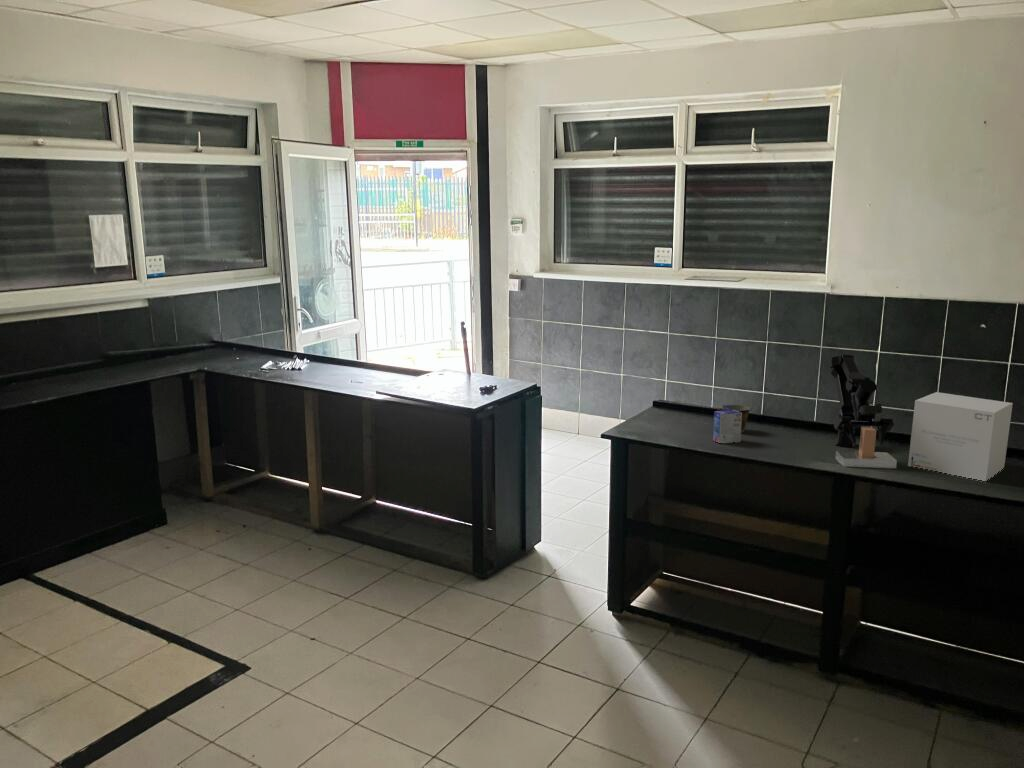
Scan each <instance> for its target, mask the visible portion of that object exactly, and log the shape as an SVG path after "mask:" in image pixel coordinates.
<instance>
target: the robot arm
mask: <svg viewBox="0 0 1024 768" xmlns="http://www.w3.org/2000/svg"><path fill="white" fill-rule="evenodd" d="M854 357H855V356H854V355H852V354H839V355H837V356H832V357H830V358H829V359H828V361H827V368H829V372H830V375H831V376H832V377H833V378H834V379H835V382H836V387H837V394H838V395H837V396H838V398H839V399H838V400H839V407H840V409H839V411H838V414H837V416H836V418H835V420H834V421H833V428H834V429H835V430H836V431H838V433H837V434H838V435H837V440H836V442H835V446H839V447H845V448H846V447H847V448H855V445H856V444H857V441H856V439H857V438H856V435H855V432H861V427H872V428H874V427H875V428H877V430H878V431H877V435H878V440H879V445H880V446H883V444H884V440H885V435H886V434H887V433H888V432H890V431H891V430H892V428H893V426H894V425H895V421H894V419H893V418H892V417H881V418H880V419H879V420H876V421H875V418H876V415H877V416H878V414H882V413H883V407H882V404H881V403H875V404H873V405H871V404H870V400H871V399H872V398H873V396H874V395H875V392H876V391H877V389H878V385H877V384H876V383H875V382H874V381H873V380H872V379H871V378H870V377H867V376H866V375H864V374H862V373H860V371H859V369H858V366H857V364H856V362H855V358H854Z"/></svg>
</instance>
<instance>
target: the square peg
mask: <svg viewBox="0 0 1024 768" xmlns="http://www.w3.org/2000/svg"><path fill="white" fill-rule="evenodd" d="M876 440H877V429H875V428H874V427H867V426H861V428H860V437H859V445H858V446H859V447H858V451H859V455H858V456H859V457H860V458H874V452H875V447H876Z"/></svg>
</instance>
